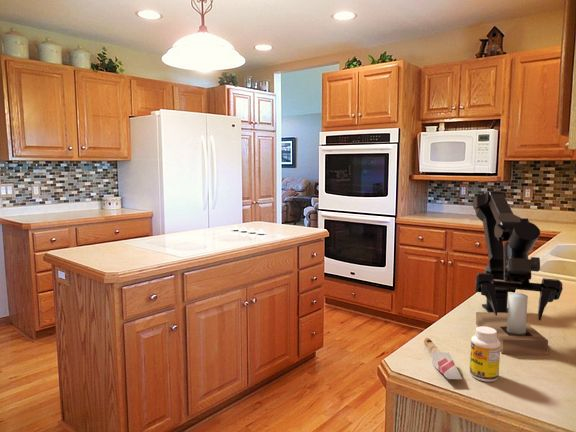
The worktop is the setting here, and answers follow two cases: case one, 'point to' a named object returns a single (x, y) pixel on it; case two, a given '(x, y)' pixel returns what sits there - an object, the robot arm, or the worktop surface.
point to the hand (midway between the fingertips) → (517, 317)
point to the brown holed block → (513, 344)
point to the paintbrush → (442, 361)
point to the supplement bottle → (485, 354)
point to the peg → (517, 314)
